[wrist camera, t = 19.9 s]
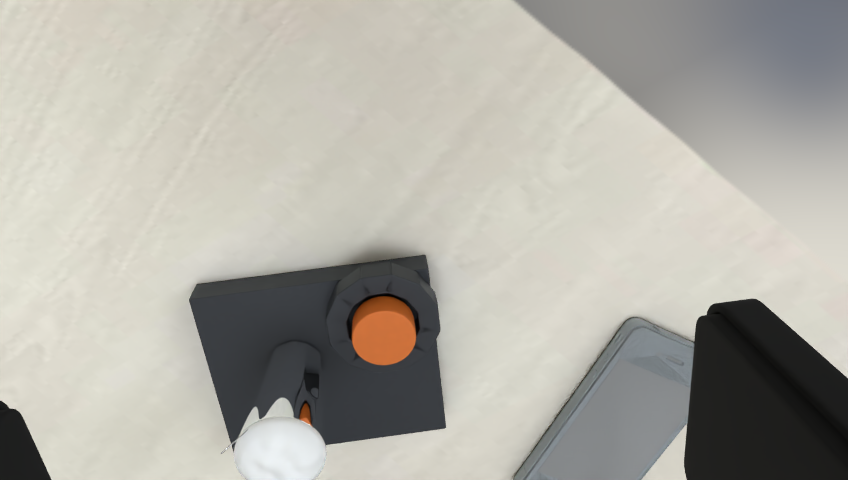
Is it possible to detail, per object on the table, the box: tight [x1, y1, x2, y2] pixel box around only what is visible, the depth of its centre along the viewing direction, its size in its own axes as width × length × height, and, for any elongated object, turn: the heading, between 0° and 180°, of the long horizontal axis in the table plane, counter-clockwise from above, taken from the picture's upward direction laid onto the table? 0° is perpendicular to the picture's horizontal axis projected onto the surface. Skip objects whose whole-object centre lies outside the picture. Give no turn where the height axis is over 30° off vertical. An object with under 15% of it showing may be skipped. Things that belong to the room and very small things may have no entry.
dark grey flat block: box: [189, 255, 446, 452], centre depth 40 cm, size 14×13×4 cm
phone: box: [514, 318, 694, 480], centre depth 45 cm, size 8×16×1 cm, turn 153°
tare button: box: [352, 296, 416, 365], centre depth 37 cm, size 4×4×2 cm
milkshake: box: [221, 341, 326, 480], centre depth 35 cm, size 4×5×10 cm
